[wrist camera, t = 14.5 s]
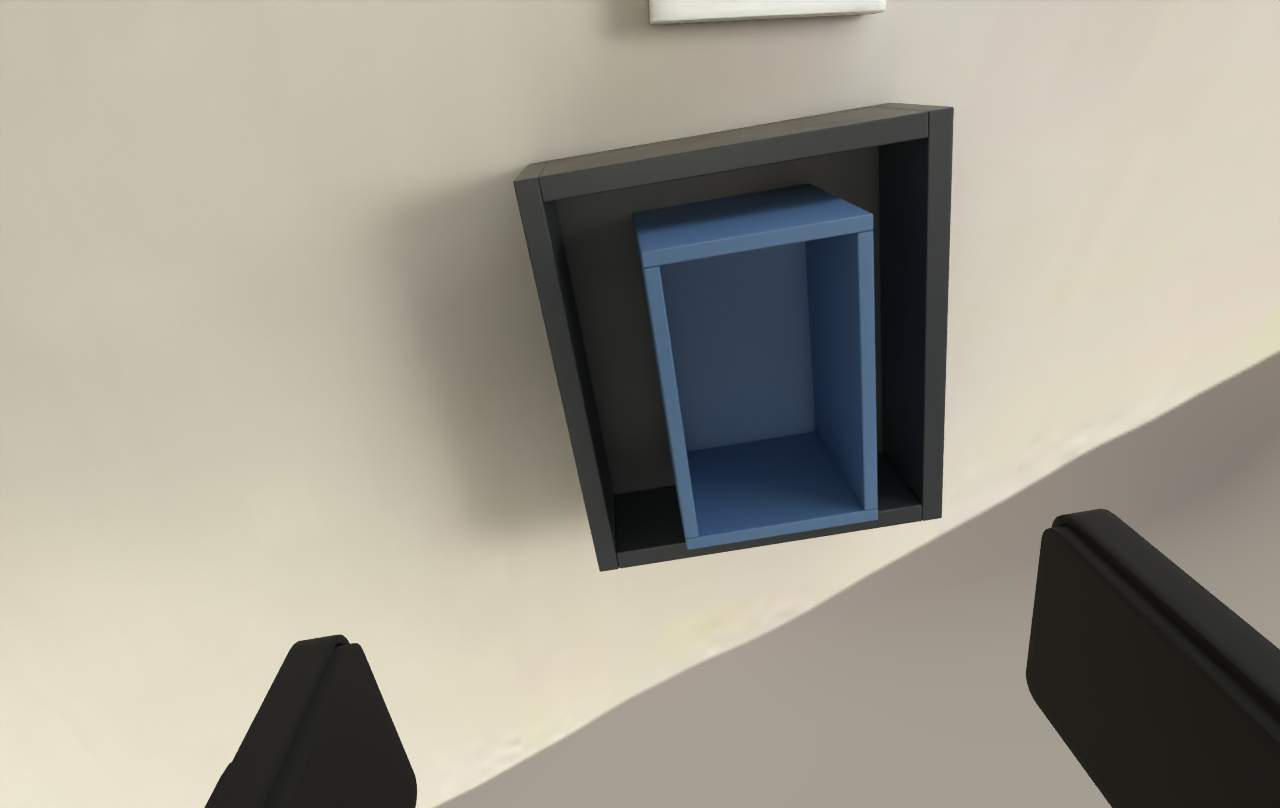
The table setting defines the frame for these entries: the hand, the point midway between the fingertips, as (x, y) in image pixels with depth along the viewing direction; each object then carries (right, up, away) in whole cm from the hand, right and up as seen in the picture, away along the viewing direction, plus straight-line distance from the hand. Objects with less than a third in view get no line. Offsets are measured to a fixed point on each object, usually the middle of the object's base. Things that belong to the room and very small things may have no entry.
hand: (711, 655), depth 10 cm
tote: (+3, +7, +21) cm, 22 cm away
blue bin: (+3, +6, +20) cm, 21 cm away
